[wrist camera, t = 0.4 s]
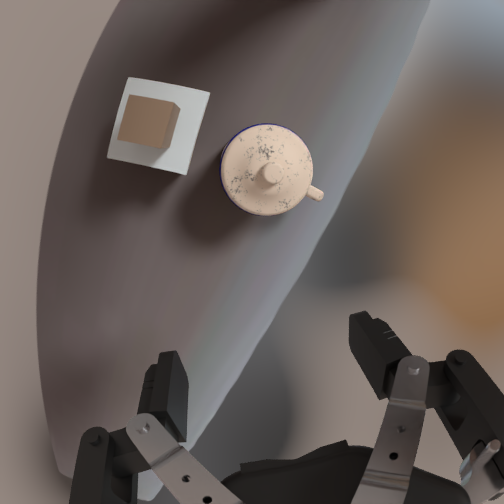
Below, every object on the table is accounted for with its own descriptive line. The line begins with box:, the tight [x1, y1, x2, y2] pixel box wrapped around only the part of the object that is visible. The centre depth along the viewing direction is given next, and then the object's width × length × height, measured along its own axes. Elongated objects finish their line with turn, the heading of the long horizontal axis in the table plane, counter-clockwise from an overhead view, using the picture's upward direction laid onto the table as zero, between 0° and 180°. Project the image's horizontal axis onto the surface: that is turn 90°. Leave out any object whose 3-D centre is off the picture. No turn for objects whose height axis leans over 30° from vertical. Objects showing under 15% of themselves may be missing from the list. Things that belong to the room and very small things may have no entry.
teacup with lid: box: [219, 123, 324, 216], centre depth 31 cm, size 12×9×12 cm
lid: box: [107, 77, 210, 175], centre depth 25 cm, size 9×9×7 cm
